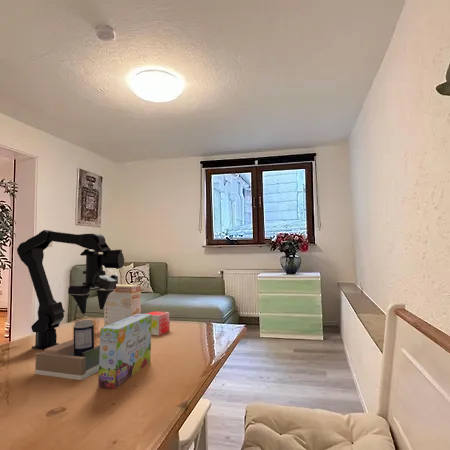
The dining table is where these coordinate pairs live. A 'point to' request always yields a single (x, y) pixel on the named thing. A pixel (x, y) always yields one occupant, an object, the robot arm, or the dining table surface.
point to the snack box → (124, 349)
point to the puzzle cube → (160, 322)
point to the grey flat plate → (92, 357)
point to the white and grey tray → (63, 366)
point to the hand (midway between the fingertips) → (92, 311)
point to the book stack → (62, 348)
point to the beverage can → (83, 337)
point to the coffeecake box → (122, 303)
